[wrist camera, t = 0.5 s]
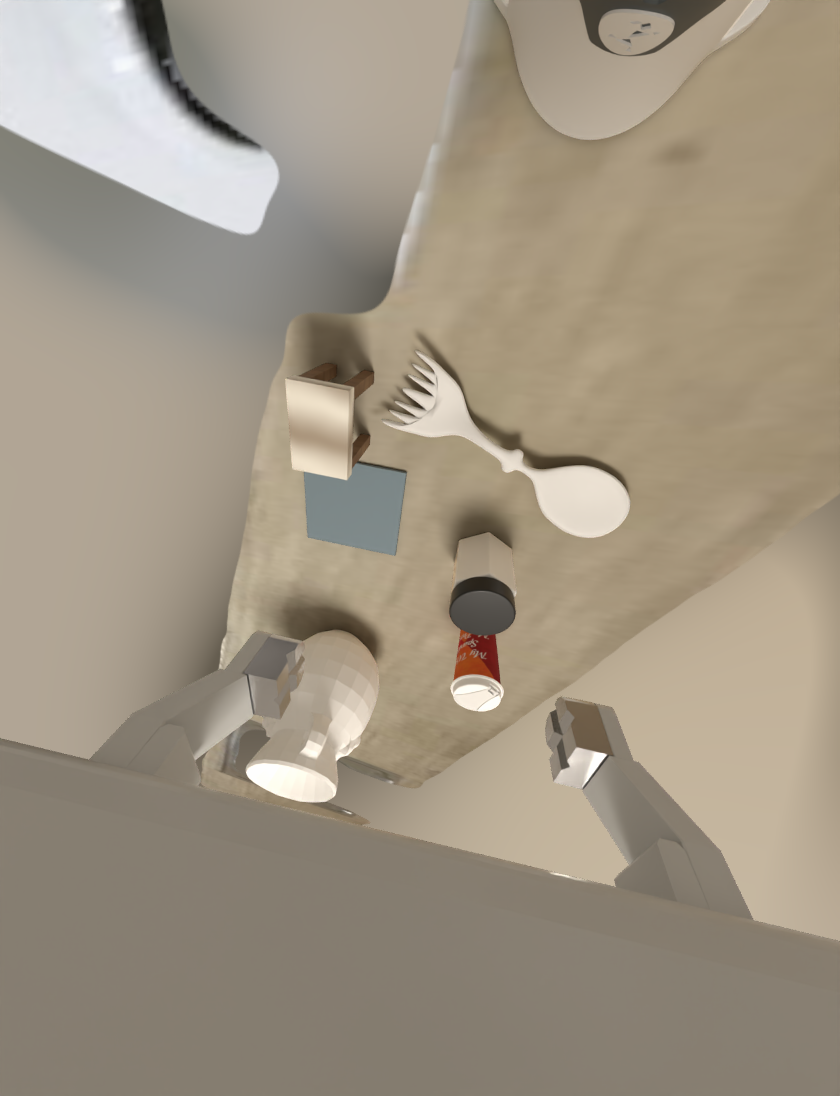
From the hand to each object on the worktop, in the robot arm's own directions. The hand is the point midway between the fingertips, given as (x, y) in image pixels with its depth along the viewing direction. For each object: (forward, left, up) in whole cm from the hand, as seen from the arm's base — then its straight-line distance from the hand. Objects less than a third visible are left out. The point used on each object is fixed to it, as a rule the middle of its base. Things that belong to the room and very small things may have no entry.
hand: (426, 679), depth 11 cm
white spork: (+6, +7, -37) cm, 38 cm away
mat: (+18, -13, -37) cm, 42 cm away
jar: (+22, +7, -37) cm, 43 cm away
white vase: (+51, -14, -37) cm, 64 cm away
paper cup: (+37, +10, -37) cm, 53 cm away
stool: (+4, -14, -36) cm, 39 cm away
